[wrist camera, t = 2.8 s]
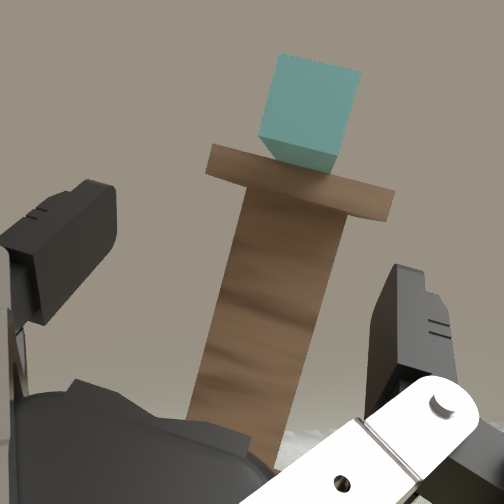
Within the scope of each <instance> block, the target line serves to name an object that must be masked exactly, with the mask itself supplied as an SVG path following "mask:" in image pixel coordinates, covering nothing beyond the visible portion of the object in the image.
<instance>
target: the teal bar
mask: <svg viewBox="0 0 504 504" xmlns="http://www.w3.org/2000/svg"><path fill="white" fill-rule="evenodd" d="M360 75H361V72H359V71H355V70H351V69H346V68H342V67H337V66H334V65H329V64H325V63H321V62H316V61H312V60H308V59H304V58H299V57H295V56H291V55H287V54H282V53H279V57H278V61H277V64H276V68H275V72H274V76H273V80H272V83H271V87H270V91H269V95H268V98H267V102H266V106H265V110H264V114H263V117H262V121H261V125H260V129H259V133H258V136H259V138H260V139H261V140H262V142H263V143H264V144H265V146H266V147H267V148H268V150H269V151H270V152H271V153H272V155H273V156H274V157H275V159H276V160H278V161H282V162H286V163H290V164H293V165H297V166H301V167H305V168H309V169H313V170H316V171H320V172H324V173H328V174H330V172H331V170H332V168H333V165H334V163H335V161H336V158H337V156H338V153H339V149H340V146H341V142H342V139H343V135H344V131H345V128H346V125H347V121H348V118H349V114H350V111H351V107H352V104H353V100H354V97H355V93H356V89H357V86H358V82H359V79H360Z"/></svg>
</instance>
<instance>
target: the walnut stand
mask: <svg viewBox="0 0 504 504" xmlns="http://www.w3.org/2000/svg"><path fill="white" fill-rule="evenodd" d="M205 173H206V174H208V175H211V176H214V177H217V178H220V179H223V180H226V181H229V182H232V183H235V184H238V185H241V186H244V187H247V189H246V193H245V197H244V201H243V205H242V209H241V212H240V216H239V220H238V224H237V227H236V231H235V235H234V239H233V243H232V246H231V250H230V254H229V258H228V262H227V266H226V269H225V273H224V277H223V281H222V284H221V288H220V292H219V296H218V299H217V303H216V307H215V311H214V315H213V318H212V322H211V326H210V330H209V334H208V338H207V341H206V345H205V349H204V353H203V356H202V360H201V364H200V368H199V372H198V375H197V379H196V383H195V387H194V391H193V395H192V398H191V402H190V406H189V409H188V414H187V417H186V420H191V421H204V422H209V423H212V424H215V425H218V426H221V427H225V428H228V429H231V430H234V431H237V432H240V433H243V434H246V435H249V436H252V437H251V441H250V444H249V448H248V451H250V452H251V453H253V454H254V455H256V456H257V457H258V458H259V459H261V460H262V461H263V462H264V463H266V464H267V465H268V467H269V468H270V469H271V470H272V471H273V472H274V473H275V474H276V475H278V474H280V473H281V472H282V471H280V470H277V469H274V464H275V461H276V458H277V454H278V451H279V447H280V444H281V440H282V437H283V434H284V430H285V427H286V423H287V420H288V416H289V413H290V410H291V406H292V403H293V399H294V396H295V393H296V389H297V386H298V382H299V379H300V376H301V372H302V369H303V365H304V362H305V358H306V355H307V352H308V348H309V344H310V341H311V338H312V335H313V331H314V327H315V324H316V321H317V317H318V314H319V311H320V307H321V304H322V300H323V297H324V294H325V290H326V286H327V283H328V280H329V276H330V273H331V270H332V266H333V263H334V259H335V256H336V253H337V249H338V246H339V242H340V239H341V235H342V232H343V228H344V225H345V222H346V218H347V215H351V216H355V217H359V218H365V219H371V220H377V221H383V222H386V220H387V217H388V214H389V210H390V207H391V204H392V200H393V197H394V194H395V191H393V190H389V189H385V188H382V187H378V186H374V185H370V184H366V183H363V182H359V181H355V180H351V179H347V178H343V177H339V176H335V175H331V174H328V173H324V172H320V171H316V170H313V169H309V168H305V167H301V166H297V165H293V164H290V163H286V162H282V161H278V160H274V159H270V158H267V157H263V156H259V155H255V154H251V153H247V152H243V151H240V150H236V149H232V148H228V147H224V146H220V145H216V144H213V145H212V148H211V152H210V156H209V160H208V164H207V168H206V172H205Z"/></svg>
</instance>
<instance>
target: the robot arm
mask: <svg viewBox="0 0 504 504" xmlns="http://www.w3.org/2000/svg"><path fill="white" fill-rule="evenodd" d="M116 209H117V208H116V190H115V188H114V187H113V186H111V185H107V184H104V183H100V182H96V181H93V180H90V179H87V180H84V181H83V182H82V183H81V184H79V185H78V186H77V187H76V188H75V189H73V190H72V191H71V192H68V191H64V192H61V193H59V194H56V195H53V196H51V197H48V198H47V199H46V200H45V201H43V202H42V203H41V204H39V205H38V206H37V207H36V209H33V210H32V211H31V212H29V213H28V214H27V215H26V217H23V218H22V219H20V220H19V221H18V222H16V223H15V224H14V225H13V226H11V227H10V228H9V229H8V230H6V231H5V232H4V233H3V234H1V235H0V504H413V503H414V502H415V501H416V500H417V499H418V498H419V497H420V496H422V497H423V498H425V499H426V500H428V501H429V502H431V503H432V504H504V433H503V432H501V431H499V430H498V429H496V428H494V427H493V426H491V425H489V424H488V423H486V422H484V421H483V420H482V419H481V418H479V414H478V410H477V407H476V405H475V403H474V402H473V400H472V399H471V397H470V396H469V395H468V394H467V393H466V392H465V391H464V390H463V389H462V388H460V387H459V386H458V382H457V374H456V367H455V359H454V352H453V345H452V340H451V330H450V328H449V326H450V322H449V315H448V310H447V308H446V307H445V305H444V304H443V302H442V300H441V299H440V297H439V295H437V294H433V293H429V292H426V291H425V279H424V272H423V271H420V270H417V269H413V268H410V267H406V266H403V265H399V264H394V266H393V267H392V269H391V271H390V273H389V276H388V278H387V280H386V283H385V285H384V287H383V289H382V292H381V294H380V296H379V298H378V301H377V303H376V305H375V308H374V311H373V314H372V318H371V324H370V336H369V352H368V367H367V383H366V399H365V414H364V421H362V420H361V419H360V418H355V419H353V420H351V421H350V422H348V423H347V424H346V425H344V426H343V427H341V428H340V429H339V430H337V431H336V432H335V433H333V434H332V435H331V436H329V437H328V438H327V439H325V440H324V441H323V442H321V443H320V444H319V445H317V446H316V447H315V448H313V449H312V450H311V451H309V452H308V453H307V454H305V455H304V456H302V457H301V458H300V459H298V460H297V461H296V462H294V463H293V464H292V465H290V466H289V467H288V468H286V469H285V470H284V471H282V472H281V473H280V474H278V475H276V474H275V473H274V472H273V471H272V470H271V469H270V468H269V467H268V465H267V464H266V463H264V462H263V461H262V460H261V459H259V458H258V457H257V456H256V455H254V454H253V453H251V452H250V451H248V448H249V444H250V441H251V437H252V436H249V435H246V434H243V433H240V432H237V431H234V430H231V429H228V428H225V427H221V426H218V425H215V424H212V423H209V422H204V421H191V420H178V419H166V418H158V417H155V416H153V415H151V414H150V413H148V412H147V411H145V410H143V409H142V408H141V407H139V406H137V405H136V404H134V403H133V402H131V401H130V400H128V399H126V398H125V397H124V396H122V395H121V394H119V393H117V392H114V391H111V390H108V389H105V388H102V387H99V386H96V385H93V384H90V383H87V382H84V381H81V380H78V379H75V380H74V381H73V383H72V384H71V386H70V387H69V388H68V390H67V391H66V392H63V391H61V392H60V391H58V392H45V393H38V394H34V395H29V391H28V376H27V360H26V344H25V333H24V328H23V325H24V324H25V323H26V322H27V321H30V322H33V323H37V324H40V325H43V326H45V325H46V324H47V323H48V322H49V320H50V319H51V318H52V317H53V316H54V315H55V313H56V312H57V311H58V310H59V309H60V308H61V307H62V305H63V304H64V303H65V302H66V301H67V300H68V298H69V297H70V296H71V295H72V294H73V293H74V291H76V289H77V288H78V287H79V286H80V285H81V283H83V281H84V280H85V279H86V278H87V277H88V276H89V275H90V273H91V272H92V271H93V270H94V269H95V268H96V266H97V265H98V264H99V263H100V262H101V261H102V260H103V259H104V257H105V256H106V255H107V254H108V253H109V252H110V250H111V249H112V247H113V245H114V242H115V239H116V235H117V210H116Z"/></svg>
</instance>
